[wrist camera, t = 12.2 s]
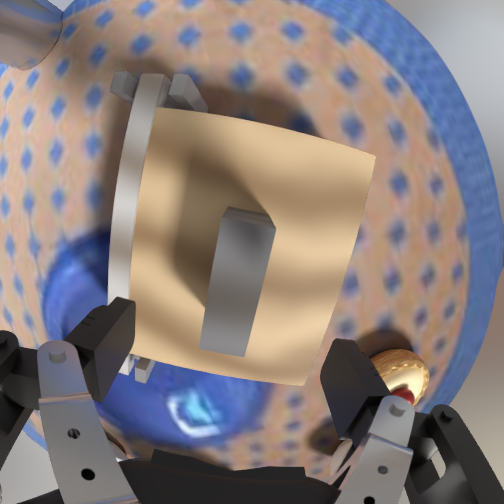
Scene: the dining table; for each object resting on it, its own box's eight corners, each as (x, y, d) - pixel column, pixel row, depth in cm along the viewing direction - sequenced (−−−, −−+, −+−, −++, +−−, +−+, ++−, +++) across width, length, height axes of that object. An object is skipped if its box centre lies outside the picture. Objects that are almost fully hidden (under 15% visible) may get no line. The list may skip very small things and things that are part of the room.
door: (149, 80, 18) (115, 49, 11) (373, 127, 19) (418, 114, 13) (117, 359, 24) (91, 402, 18) (293, 393, 25) (302, 443, 19)
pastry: (427, 352, 35) (458, 385, 27) (381, 408, 38) (403, 445, 29) (378, 330, 33) (411, 370, 24) (327, 395, 35) (345, 441, 27)
